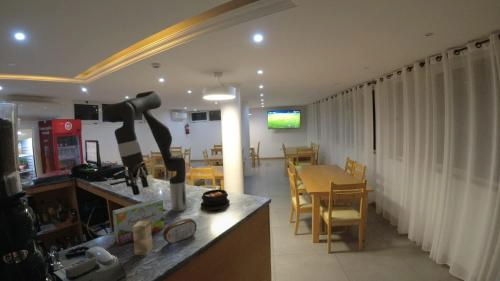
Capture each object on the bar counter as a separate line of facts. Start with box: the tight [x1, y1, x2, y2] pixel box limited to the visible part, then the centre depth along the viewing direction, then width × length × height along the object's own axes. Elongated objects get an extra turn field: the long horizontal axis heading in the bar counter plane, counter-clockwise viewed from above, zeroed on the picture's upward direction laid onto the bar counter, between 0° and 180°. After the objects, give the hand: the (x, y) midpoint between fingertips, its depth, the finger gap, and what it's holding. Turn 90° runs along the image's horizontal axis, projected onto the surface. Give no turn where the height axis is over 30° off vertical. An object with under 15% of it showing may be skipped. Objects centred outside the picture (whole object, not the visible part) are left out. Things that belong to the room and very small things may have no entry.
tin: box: [162, 218, 198, 244], centre depth 99 cm, size 15×3×8 cm, turn 130°
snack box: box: [112, 198, 165, 246], centre depth 105 cm, size 21×6×15 cm, turn 137°
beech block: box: [133, 221, 153, 256], centre depth 90 cm, size 5×5×12 cm
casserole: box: [200, 189, 230, 211], centre depth 140 cm, size 25×19×8 cm
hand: (141, 190), depth 89 cm, fingers open, 8 cm apart
